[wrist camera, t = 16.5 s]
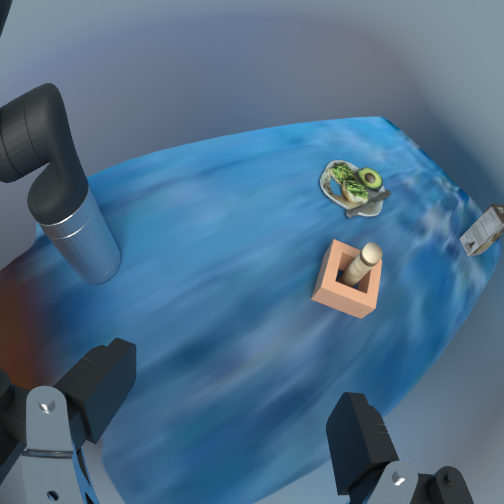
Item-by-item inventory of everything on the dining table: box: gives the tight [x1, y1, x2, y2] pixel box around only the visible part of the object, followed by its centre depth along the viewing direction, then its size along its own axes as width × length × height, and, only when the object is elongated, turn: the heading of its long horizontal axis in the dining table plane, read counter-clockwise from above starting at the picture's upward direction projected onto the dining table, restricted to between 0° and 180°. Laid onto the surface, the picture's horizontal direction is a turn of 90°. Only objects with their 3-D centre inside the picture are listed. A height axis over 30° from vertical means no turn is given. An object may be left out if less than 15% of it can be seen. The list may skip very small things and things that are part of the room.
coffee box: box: [459, 204, 504, 257], centre depth 52 cm, size 9×6×16 cm
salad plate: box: [320, 160, 391, 218], centre depth 59 cm, size 19×18×5 cm
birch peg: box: [336, 243, 382, 288], centre depth 42 cm, size 3×3×12 cm
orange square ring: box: [311, 239, 382, 319], centre depth 45 cm, size 10×10×5 cm
